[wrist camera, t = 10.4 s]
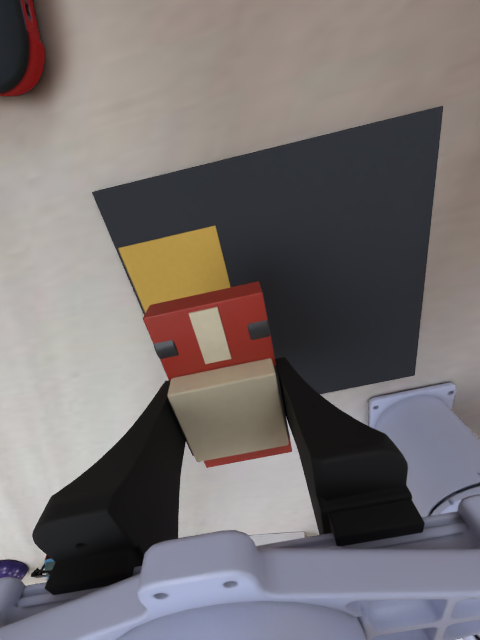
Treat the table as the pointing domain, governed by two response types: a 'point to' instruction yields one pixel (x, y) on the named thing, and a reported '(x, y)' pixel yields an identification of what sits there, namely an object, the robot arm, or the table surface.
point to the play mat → (299, 242)
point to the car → (221, 374)
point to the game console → (19, 48)
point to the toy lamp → (12, 569)
